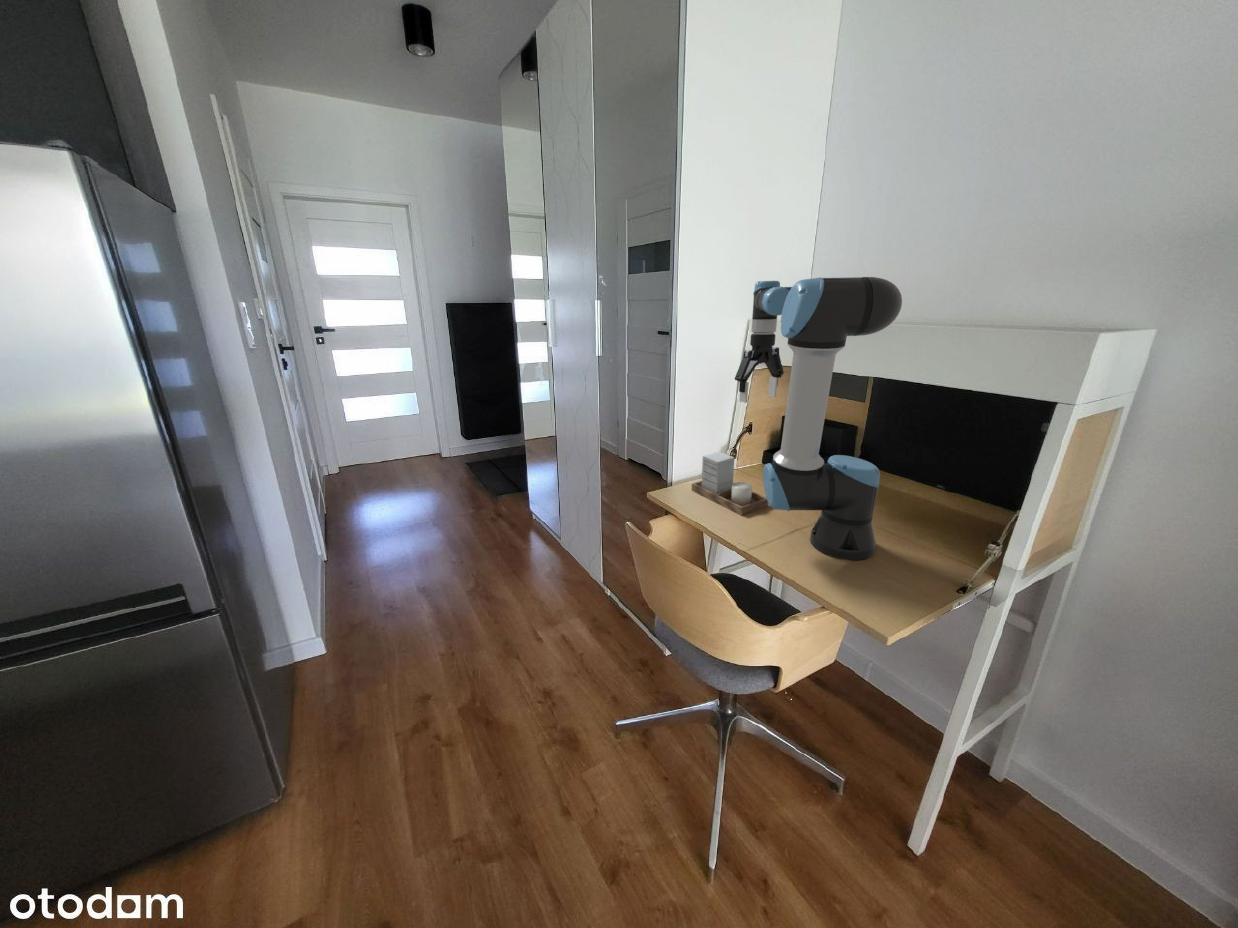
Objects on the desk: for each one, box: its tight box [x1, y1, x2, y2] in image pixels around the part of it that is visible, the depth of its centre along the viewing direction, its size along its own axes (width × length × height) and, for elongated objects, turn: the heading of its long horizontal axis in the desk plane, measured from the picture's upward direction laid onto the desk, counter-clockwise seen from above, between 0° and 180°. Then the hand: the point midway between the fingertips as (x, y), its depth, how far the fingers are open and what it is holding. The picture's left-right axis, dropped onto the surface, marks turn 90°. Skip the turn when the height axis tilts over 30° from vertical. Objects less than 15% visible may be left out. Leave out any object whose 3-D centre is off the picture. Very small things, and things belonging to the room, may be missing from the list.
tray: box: [691, 480, 769, 516], centre depth 146 cm, size 22×12×3 cm, turn 32°
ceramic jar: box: [731, 481, 753, 506], centre depth 141 cm, size 6×6×6 cm
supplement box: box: [701, 451, 735, 494], centre depth 148 cm, size 7×7×13 cm
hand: (757, 399), depth 152 cm, fingers open, 13 cm apart
